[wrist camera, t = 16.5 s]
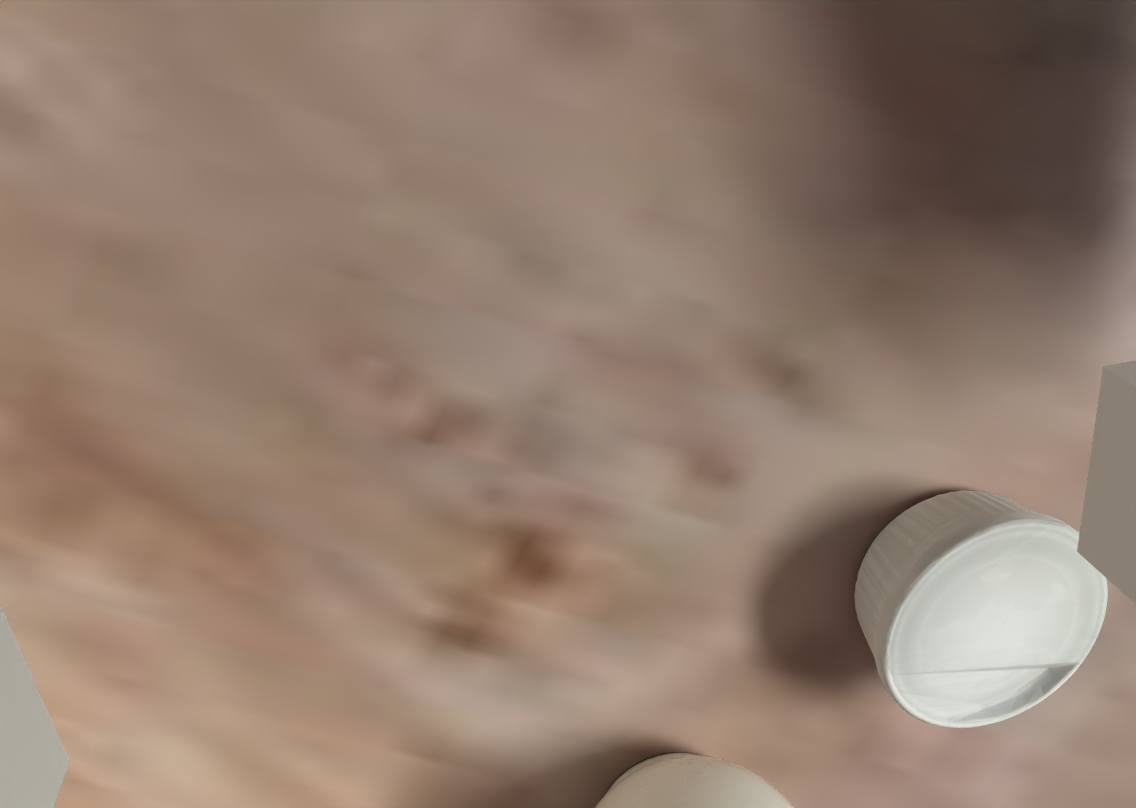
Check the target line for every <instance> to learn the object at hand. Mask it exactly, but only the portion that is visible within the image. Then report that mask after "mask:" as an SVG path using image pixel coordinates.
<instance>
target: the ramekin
mask: <svg viewBox="0 0 1136 808" xmlns="http://www.w3.org/2000/svg"><path fill="white" fill-rule="evenodd" d="M1079 534H1080V533H1079V532H1077V531H1076V530H1075V529H1073V528H1072V527H1070V526H1069V525H1068V524H1066V523H1064V522H1062V521H1060V520H1058V519H1056V518H1053V517H1050V516H1047V515H1044V514H1040V513H1036V512H1034V511H1032V510H1030V509H1028V508H1026V507H1024V506H1022V505H1020V504H1018V503H1015V502H1013V501H1011V500H1009V499H1006V498H1004V497H1002V496H1000V495H996V494H991V493H989V492H979V491H965V490H962V491H956V492H949V493H946V494H940V495H937V496H935V497H932V498H929V499H926V500H924V501H922V502H920V503H918V504H916V505H914V506H912V507H910V508H909V509H907V510H906V511H904V512H903V513H901V514H900V515H899V516H897V517H896V518H895V519H894V520H892V521H891V522H890V523H889V524H888V525H887V526H886V527H885V528H884V529H883V530H882V531H881V532H880V533H879V535H878V536H877V537H876V538H875V540H874V541H873V543H872V544H871V546H870V548H869V549H868V551H867V553H866V555H865V557H864V559H863V561H862V564H861V567H860V569H859V572H858V576H857V581H856V584H855V596H854V598H855V609H856V612H857V618H858V621H859V624H860V626H861V629H862V631H863V633H864V635H865V638H866V640H867V642H868V644H869V647H870V649H871V651H872V653H873V656H874V658H875V662H876V667H877V671H878V674H879V676H880V679H881V681H882V683H883V685H884V687H885V688H886V690H887V691H888V693H889V694H890V695H891V697H892V698H893V699H894V700H895V701H896V703H897V704H898V705H899V706H900V707H901V708H902V709H903V710H905V711H906V712H907V713H909V714H910V715H911V716H913V717H915V718H917V719H919V720H921V721H923V722H926V723H929V724H932V725H936V726H941V727H949V728H967V727H977V726H983V725H988V724H992V723H995V722H999V721H1002V720H1005V719H1008V718H1010V717H1013V716H1015V715H1017V714H1019V713H1021V712H1023V711H1025V710H1027V709H1029V708H1031V707H1033V706H1034V705H1036V704H1037V703H1039V702H1041V701H1042V700H1043V699H1045V698H1047V697H1048V696H1049V695H1050V694H1052V693H1053V692H1054V691H1055V690H1057V689H1058V688H1059V687H1060V686H1061V685H1062V684H1063V683H1064V682H1065V681H1066V680H1067V679H1068V678H1069V677H1070V676H1071V675H1072V674H1073V673H1074V672H1075V671H1076V670H1077V668H1078V667H1079V666H1080V664H1081V663H1082V662H1083V660H1084V659H1085V658H1086V656H1087V655H1088V653H1089V652H1090V650H1091V648H1092V646H1093V644H1094V643H1095V640H1096V638H1097V637H1098V634H1099V631H1100V629H1101V626H1102V623H1103V620H1104V616H1105V612H1106V605H1107V590H1108V589H1107V581H1106V577H1105V576H1104V575H1102V574H1101V573H1100V572H1099V571H1098V570H1097V569H1096V568H1095V567H1094V566H1092V565H1091V564H1090V563H1089V562H1088V561H1087V560H1086V559H1085V558H1083V557H1082V556H1081V555H1080V554H1079V553H1078V552H1077V548H1078V541H1079Z"/></svg>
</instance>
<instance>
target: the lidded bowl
mask: <svg viewBox="0 0 1136 808" xmlns="http://www.w3.org/2000/svg"><path fill="white" fill-rule="evenodd" d="M595 808H794V807H793V806H792V804H791V803H790V802H789V801H788V800H787V799H786V798H785V797H784V796H783V795H782V794H781V793H780V792H779V791H778V790H777V789H776V788H775V787H773V786H772V785H771V784H770V783H769V782H767V781H766V780H765V779H763V778H762V777H760V776H759V775H757V774H756V773H754V772H752V771H750V770H749V769H747V768H745V767H742V766H740V765H738V764H735V763H732V762H729V761H727V760H724V759H719V758H714V757H708V756H700V755H696V754H691V753H667V754H663V755H658V756H655V757H652V758H649V759H646V760H644V761H642V762H640V763H638V764H636V765H635V766H633V767H631V768H630V769H628V770H627V771H626V772H624V773H623V774H622V775H621V776H620V777H619V778H618V779H617V780H616V781H615V782H614V783H613V784H612V785H611V787H610V788H609V790H608V791H607V793H606V794H605V796H604V797H603V798H602V799H601V800H600V802H599V803H598V804H597V805H596V807H595Z"/></svg>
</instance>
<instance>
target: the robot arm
mask: <svg viewBox="0 0 1136 808" xmlns="http://www.w3.org/2000/svg"><path fill="white" fill-rule="evenodd" d="M1077 552H1078V553H1079V554H1080V555H1081V556H1082V557H1083V558H1085V559H1086V560H1087V561H1088V562H1089V563H1090V564H1091V565H1092V566H1094V567H1095V568H1096V569H1097V570H1098V571H1099V572H1100V573H1101V574H1102V575H1104V576H1105V577H1106V578H1107V579H1108V580H1109V581H1110V582H1111V583H1113V584H1114V585H1115V586H1116V587H1117V588H1118V589H1119V590H1120V591H1122V592H1123V593H1124V594H1125V595H1126V596H1127V597H1128V598H1129V599H1130V600H1132V601H1133V602H1134V603H1135V604H1136V361H1132V362H1126V363H1121V364H1115V365H1110V366H1105V367H1103V373H1102V380H1101V387H1100V394H1099V401H1098V408H1097V415H1096V422H1095V429H1094V436H1093V443H1092V450H1091V457H1090V464H1089V471H1088V478H1087V485H1086V492H1085V499H1084V506H1083V513H1082V520H1081V527H1080V534H1079V541H1078V548H1077ZM69 762H70V760H69V758H68V756H67V754H66V751H65V749H64V747H63V745H62V742H61V740H60V738H59V736H58V733H57V731H56V729H55V727H54V724H53V722H52V720H51V718H50V715H49V713H48V711H47V709H46V706H45V704H44V702H43V700H42V697H41V695H40V693H39V691H38V688H37V686H36V684H35V682H34V679H33V677H32V675H31V673H30V670H29V668H28V666H27V664H26V661H25V659H24V657H23V654H22V652H21V650H20V648H19V645H18V643H17V641H16V639H15V636H14V634H13V632H12V630H11V627H10V625H9V623H8V621H7V618H6V616H5V614H4V612H3V609H2V607H1V605H0V808H54V806H55V803H56V800H57V797H58V794H59V791H60V788H61V785H62V782H63V779H64V776H65V773H66V770H67V767H68V764H69Z"/></svg>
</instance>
